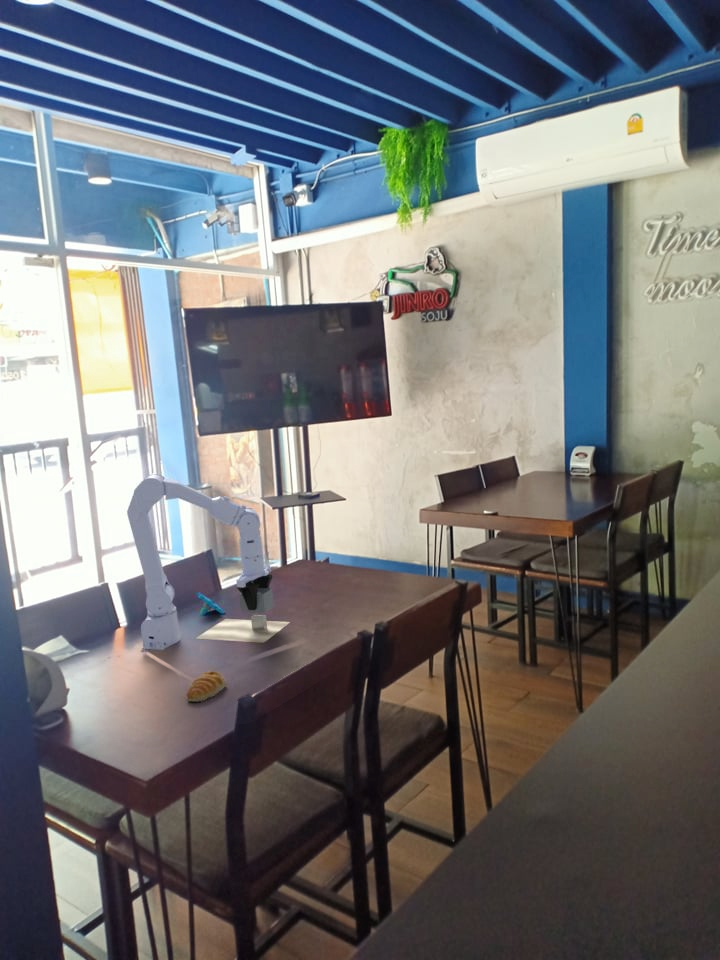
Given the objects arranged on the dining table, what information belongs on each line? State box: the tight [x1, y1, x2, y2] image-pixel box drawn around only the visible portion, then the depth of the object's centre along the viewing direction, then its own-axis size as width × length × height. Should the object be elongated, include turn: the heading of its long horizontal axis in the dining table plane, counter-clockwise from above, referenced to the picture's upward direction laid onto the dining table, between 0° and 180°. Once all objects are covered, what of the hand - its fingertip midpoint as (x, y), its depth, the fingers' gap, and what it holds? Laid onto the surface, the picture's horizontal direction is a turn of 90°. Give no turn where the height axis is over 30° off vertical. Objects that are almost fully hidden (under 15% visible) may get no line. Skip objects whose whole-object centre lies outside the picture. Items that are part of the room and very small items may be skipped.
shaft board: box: [195, 618, 291, 644], centre depth 194 cm, size 15×20×1 cm
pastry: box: [186, 670, 227, 702], centre depth 158 cm, size 9×7×4 cm
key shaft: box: [250, 614, 268, 630], centre depth 194 cm, size 2×4×4 cm, turn 69°
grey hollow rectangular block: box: [239, 587, 275, 614], centre depth 193 cm, size 5×7×5 cm
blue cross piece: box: [195, 592, 226, 617], centre depth 211 cm, size 11×6×10 cm
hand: (257, 606), depth 193 cm, fingers closed on grey hollow rectangular block, 5 cm apart
